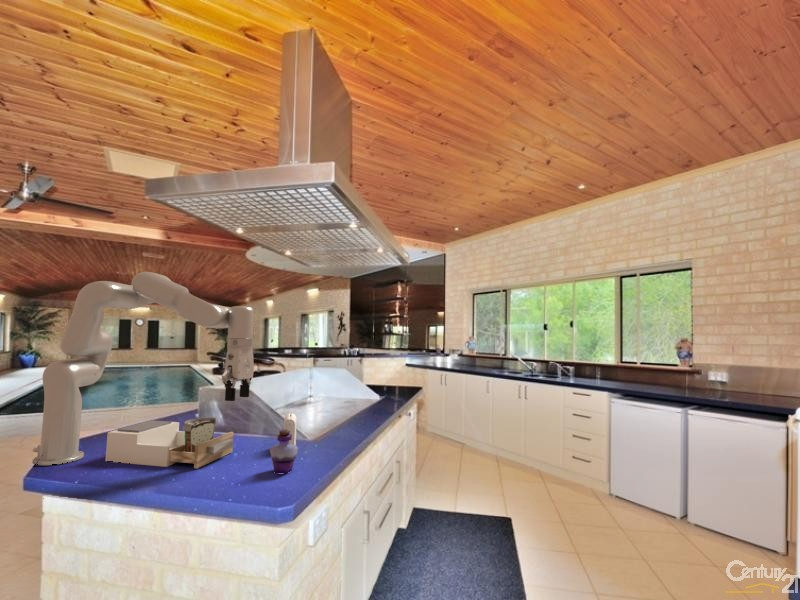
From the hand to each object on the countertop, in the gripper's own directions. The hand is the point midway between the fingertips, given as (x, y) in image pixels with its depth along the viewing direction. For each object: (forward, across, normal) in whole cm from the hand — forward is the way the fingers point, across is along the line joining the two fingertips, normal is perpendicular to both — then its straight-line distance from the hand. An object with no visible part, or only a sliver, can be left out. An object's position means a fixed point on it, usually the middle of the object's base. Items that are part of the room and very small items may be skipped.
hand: (237, 398), depth 133 cm
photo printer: (+20, +18, -10) cm, 29 cm away
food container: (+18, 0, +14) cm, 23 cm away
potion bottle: (+20, -4, -19) cm, 28 cm away
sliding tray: (+20, 0, +11) cm, 23 cm away
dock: (+20, 0, +28) cm, 34 cm away
